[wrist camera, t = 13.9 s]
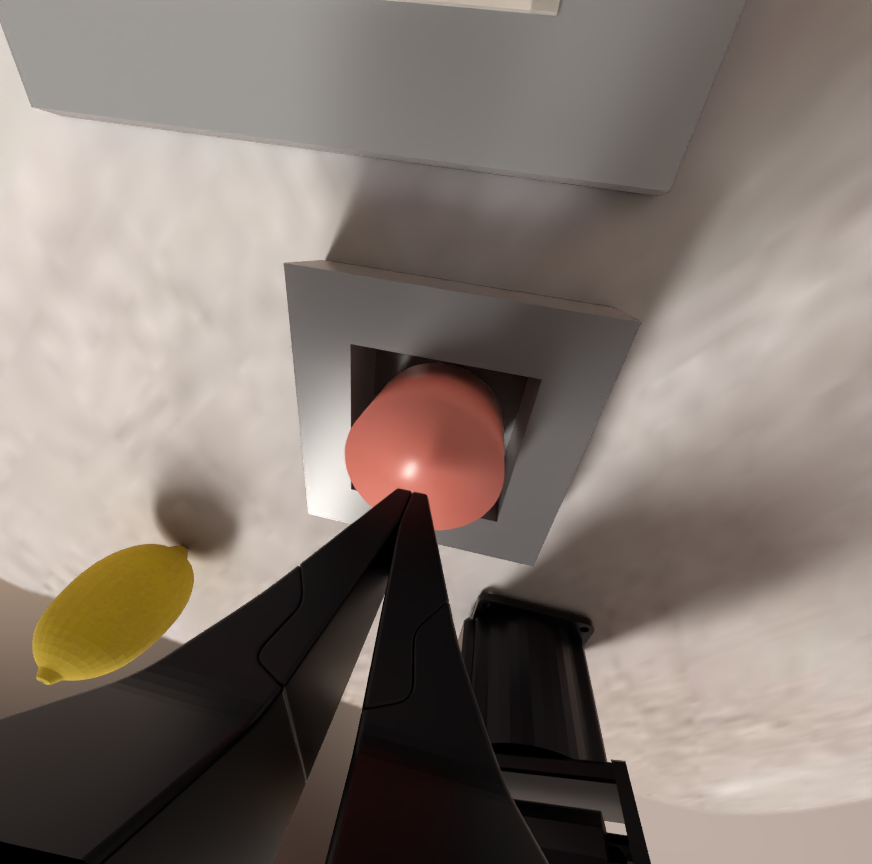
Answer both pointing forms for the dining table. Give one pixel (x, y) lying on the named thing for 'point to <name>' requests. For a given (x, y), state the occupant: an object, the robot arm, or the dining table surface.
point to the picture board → (394, 77)
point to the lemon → (112, 612)
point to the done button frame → (462, 344)
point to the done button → (431, 443)
